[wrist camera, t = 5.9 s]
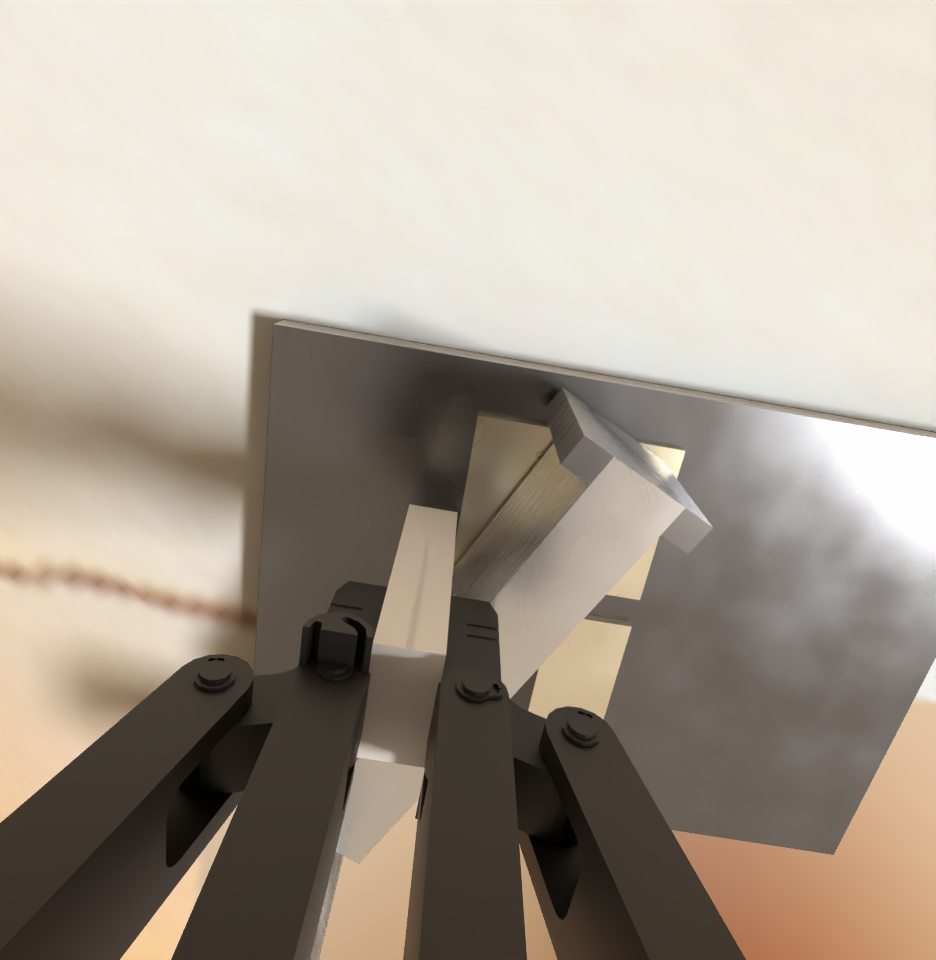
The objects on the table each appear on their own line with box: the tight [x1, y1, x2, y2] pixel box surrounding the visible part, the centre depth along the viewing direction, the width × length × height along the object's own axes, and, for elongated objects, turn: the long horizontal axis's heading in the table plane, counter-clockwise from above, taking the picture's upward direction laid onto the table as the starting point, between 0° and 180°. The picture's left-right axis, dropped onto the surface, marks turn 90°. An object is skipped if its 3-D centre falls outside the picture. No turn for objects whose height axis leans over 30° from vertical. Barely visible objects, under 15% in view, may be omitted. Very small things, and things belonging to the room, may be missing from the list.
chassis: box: [254, 320, 936, 960], centre depth 17 cm, size 16×22×10 cm
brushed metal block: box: [336, 387, 713, 863], centre depth 18 cm, size 14×4×4 cm, turn 145°
